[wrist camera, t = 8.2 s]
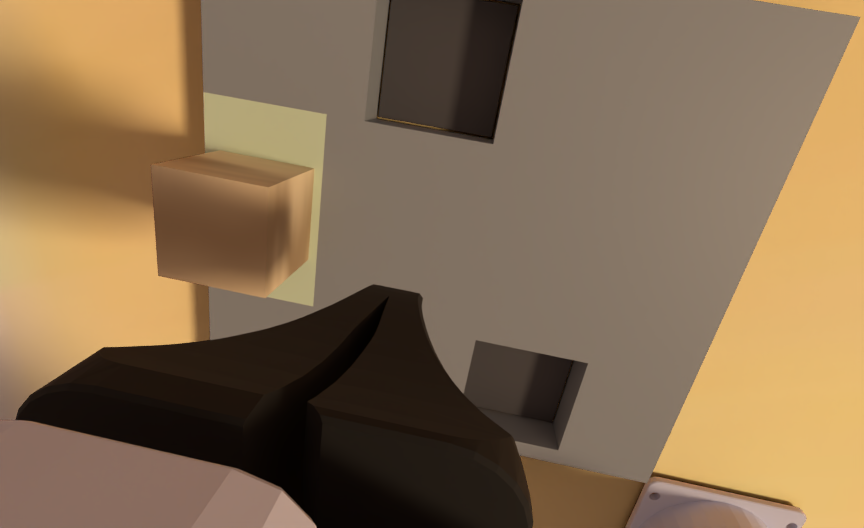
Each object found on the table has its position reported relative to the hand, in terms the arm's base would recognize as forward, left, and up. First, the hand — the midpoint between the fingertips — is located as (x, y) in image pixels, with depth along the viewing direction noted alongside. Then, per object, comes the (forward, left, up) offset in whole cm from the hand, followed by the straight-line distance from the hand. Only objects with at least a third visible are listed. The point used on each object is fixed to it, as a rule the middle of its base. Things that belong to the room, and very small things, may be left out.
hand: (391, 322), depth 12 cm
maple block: (0, +7, -7) cm, 10 cm away
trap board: (0, -1, -9) cm, 9 cm away
